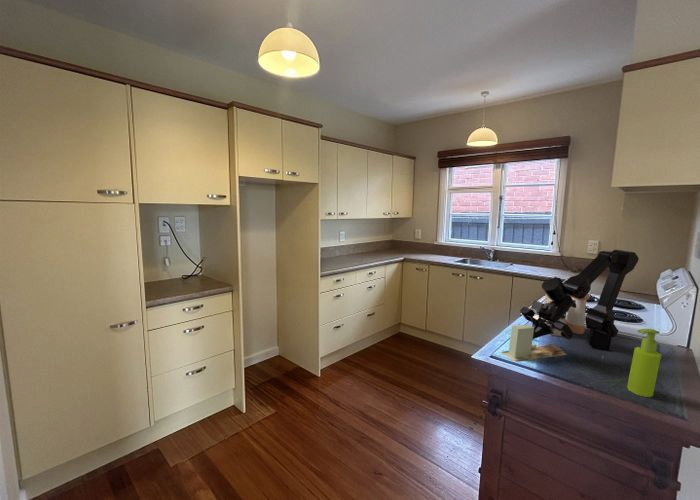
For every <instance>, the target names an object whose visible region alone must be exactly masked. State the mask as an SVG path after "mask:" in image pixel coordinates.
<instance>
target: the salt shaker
mask: <svg viewBox="0 0 700 500" xmlns="http://www.w3.org/2000/svg"><path fill="white" fill-rule="evenodd" d="M570 297H571V298H572V299H573V300H575V301H576V308H573V307H570V308H569V309H568V310H567V312H566V319H565V324H567V325H568V326H569V328H570V329H571V330H572V332H573V334H578V335H581V334H582V335H583V334H585V328H586V321H585V318H586V317H585V316H586V307H587V306H586V305H587V301H588V300H589V299H590V294H589V293H588V294H587V295H586V296H585V297H584V298H583V299H578V298H575V297H572V296H570Z"/></svg>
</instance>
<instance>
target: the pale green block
mask: <svg viewBox="0 0 700 500" xmlns="http://www.w3.org/2000/svg"><path fill="white" fill-rule="evenodd" d="M510 331H511V332H510V339H509V345H508V346H509V347H508V351H509V353H508V354H509V355H510V356H512V357H514V358H520V357H527V356H530V355H531V347H532V345H533V340H534V339H533V333H534V327H532V325H530V324H528V323H527V324H525V323H524V324H518V325H516V324H515V325H511V329H510Z"/></svg>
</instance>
